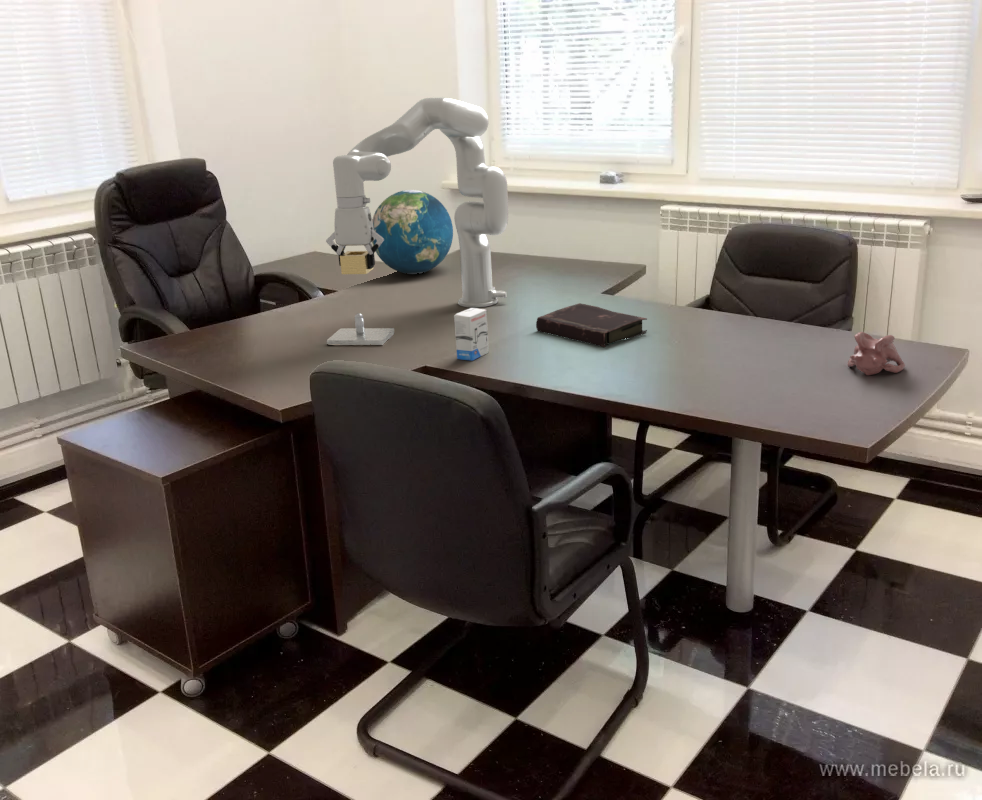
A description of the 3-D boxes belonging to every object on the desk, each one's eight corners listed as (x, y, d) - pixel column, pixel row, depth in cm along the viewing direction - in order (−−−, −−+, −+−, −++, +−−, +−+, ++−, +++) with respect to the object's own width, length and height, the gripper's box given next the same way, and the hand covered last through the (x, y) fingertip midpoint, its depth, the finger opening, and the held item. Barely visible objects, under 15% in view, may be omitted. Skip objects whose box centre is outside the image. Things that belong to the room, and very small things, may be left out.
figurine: (848, 378, 223) (834, 365, 210) (857, 337, 223) (843, 322, 211) (902, 386, 216) (890, 373, 203) (911, 343, 216) (900, 328, 204)
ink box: (472, 361, 238) (469, 316, 234) (455, 359, 240) (452, 315, 236) (489, 352, 245) (487, 308, 241) (474, 350, 247) (471, 306, 243)
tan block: (373, 268, 259) (372, 250, 258) (366, 274, 253) (364, 255, 251) (349, 268, 260) (347, 251, 259) (341, 274, 254) (339, 256, 252)
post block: (394, 333, 267) (392, 307, 264) (382, 345, 256) (380, 319, 253) (341, 333, 270) (338, 308, 267) (327, 345, 258) (324, 319, 256)
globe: (465, 264, 351) (460, 183, 341) (440, 282, 325) (434, 195, 314) (392, 264, 359) (385, 185, 349) (361, 282, 333) (353, 196, 322)
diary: (603, 350, 243) (602, 332, 242) (536, 334, 261) (535, 316, 259) (649, 333, 255) (649, 315, 253) (581, 318, 272) (581, 302, 271)
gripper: (386, 200, 252) (391, 265, 258) (325, 201, 255) (331, 265, 261) (378, 204, 245) (384, 270, 251) (315, 205, 248) (322, 271, 254)
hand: (357, 267), depth 256 cm, fingers closed on tan block, 7 cm apart
